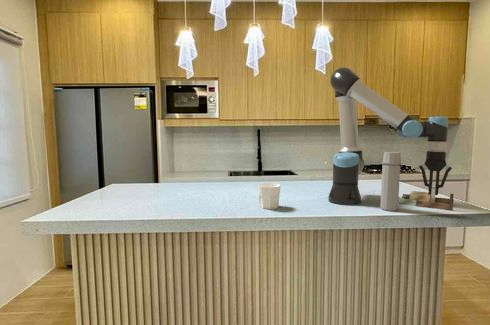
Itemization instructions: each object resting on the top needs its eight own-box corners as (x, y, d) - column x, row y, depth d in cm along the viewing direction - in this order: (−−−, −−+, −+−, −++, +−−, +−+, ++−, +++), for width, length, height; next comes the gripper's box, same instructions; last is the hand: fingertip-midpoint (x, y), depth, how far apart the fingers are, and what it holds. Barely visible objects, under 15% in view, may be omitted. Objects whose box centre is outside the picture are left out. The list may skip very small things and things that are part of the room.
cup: (254, 208, 134) (255, 186, 133) (261, 203, 143) (261, 182, 142) (277, 210, 130) (277, 187, 129) (282, 205, 140) (282, 184, 138)
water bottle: (401, 212, 128) (404, 153, 126) (381, 211, 130) (384, 152, 127) (395, 206, 137) (398, 151, 135) (376, 205, 139) (379, 151, 136)
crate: (409, 204, 143) (409, 193, 142) (411, 201, 149) (412, 190, 148) (429, 207, 138) (429, 195, 137) (430, 203, 144) (431, 192, 144)
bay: (398, 204, 143) (399, 193, 142) (402, 198, 154) (403, 188, 154) (452, 210, 131) (453, 199, 130) (452, 204, 142) (453, 193, 142)
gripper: (419, 150, 139) (415, 201, 141) (453, 152, 132) (449, 205, 134) (420, 149, 145) (417, 198, 148) (453, 151, 138) (449, 202, 140)
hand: (432, 201), depth 141 cm, fingers closed
